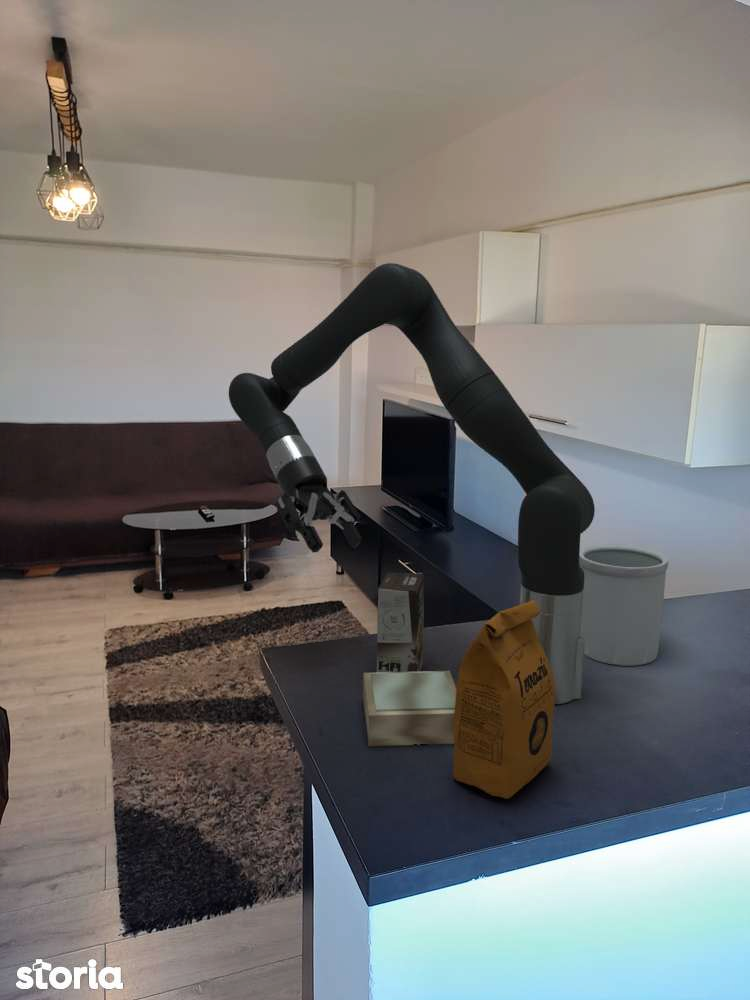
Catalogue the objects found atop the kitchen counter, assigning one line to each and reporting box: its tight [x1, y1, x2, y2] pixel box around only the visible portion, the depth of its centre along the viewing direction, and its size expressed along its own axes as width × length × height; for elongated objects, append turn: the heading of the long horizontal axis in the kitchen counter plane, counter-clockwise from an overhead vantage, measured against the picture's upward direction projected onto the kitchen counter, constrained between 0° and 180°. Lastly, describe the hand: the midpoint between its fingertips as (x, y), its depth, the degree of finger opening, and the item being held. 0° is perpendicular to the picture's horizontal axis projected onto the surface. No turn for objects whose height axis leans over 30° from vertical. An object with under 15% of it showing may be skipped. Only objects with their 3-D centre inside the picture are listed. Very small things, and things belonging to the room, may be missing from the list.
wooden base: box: [362, 670, 457, 747], centre depth 107 cm, size 13×13×5 cm
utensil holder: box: [579, 544, 669, 667], centre depth 131 cm, size 15×15×18 cm
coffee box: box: [376, 572, 425, 672], centre depth 120 cm, size 9×6×16 cm
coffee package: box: [452, 601, 556, 800], centre depth 92 cm, size 10×12×22 cm
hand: (338, 547), depth 120 cm, fingers open, 8 cm apart
